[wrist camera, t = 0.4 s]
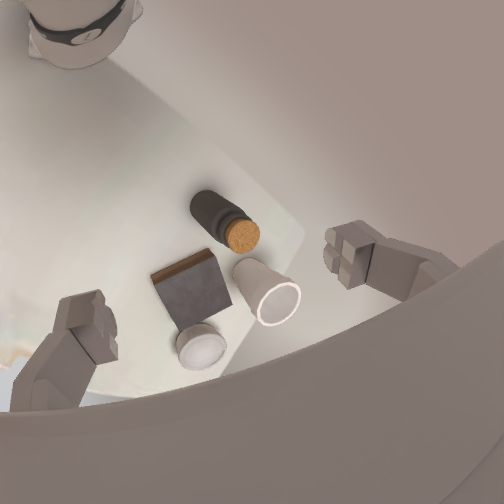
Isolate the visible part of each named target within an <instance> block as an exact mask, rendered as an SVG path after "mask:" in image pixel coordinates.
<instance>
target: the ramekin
mask: <svg viewBox="0 0 504 504" xmlns="http://www.w3.org/2000/svg"><path fill="white" fill-rule="evenodd" d="M176 347H177V352H178V359H179V362H180V364H181V365H182V366H183V367H184V368H185V369H188V370H192V371H200V370H204V369H207V368H210V367H212V366H214V365H215V364H217V363H218V362H219V361H220V360H221V359H222V358H223V356H224V355H225V353H226V349H227V344H226V341H225V339H224V338H223V337H222V336H221V335H220V334H219V333H218V332H217V331H216V330H215V329H214V328H213V327H211V326H209V325H207V324H194V325H192V326H190V327H188V328H187V329H185V330H183V331H182V332H181V333H180V335H179V336H178V338H177V342H176Z"/></svg>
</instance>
